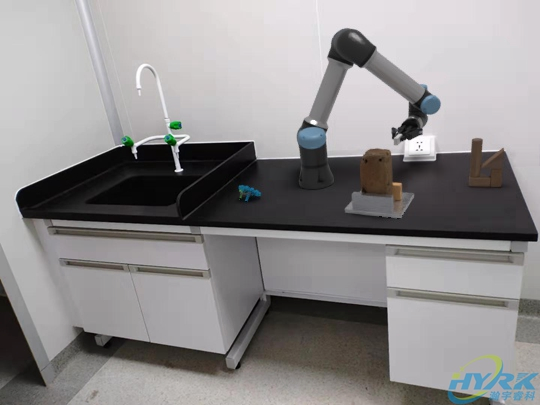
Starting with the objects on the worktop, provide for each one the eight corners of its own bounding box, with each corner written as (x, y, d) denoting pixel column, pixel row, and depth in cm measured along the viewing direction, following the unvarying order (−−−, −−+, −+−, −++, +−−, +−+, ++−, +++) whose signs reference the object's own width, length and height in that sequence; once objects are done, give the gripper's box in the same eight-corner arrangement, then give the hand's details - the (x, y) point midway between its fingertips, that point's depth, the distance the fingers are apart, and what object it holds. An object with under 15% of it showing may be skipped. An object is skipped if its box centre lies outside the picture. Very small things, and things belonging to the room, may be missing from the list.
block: (394, 200, 151) (393, 147, 143) (389, 209, 145) (387, 154, 137) (365, 198, 156) (362, 147, 149) (359, 206, 151) (356, 153, 143)
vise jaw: (362, 197, 157) (362, 182, 155) (364, 194, 159) (364, 180, 157) (400, 200, 150) (400, 185, 148) (402, 197, 152) (401, 183, 150)
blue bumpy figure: (266, 194, 174) (250, 184, 167) (261, 207, 172) (245, 197, 166) (249, 192, 182) (233, 183, 175) (245, 205, 180) (228, 195, 174)
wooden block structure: (501, 187, 152) (505, 140, 145) (468, 186, 157) (471, 140, 150) (500, 183, 155) (504, 137, 148) (468, 183, 160) (471, 137, 153)
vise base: (344, 212, 151) (343, 193, 148) (362, 192, 165) (361, 174, 162) (400, 218, 141) (400, 198, 138) (414, 196, 155) (414, 178, 152)
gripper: (427, 135, 175) (412, 152, 157) (395, 134, 181) (378, 150, 163) (427, 118, 172) (413, 132, 154) (396, 117, 178) (378, 131, 160)
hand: (395, 141), depth 159 cm, fingers closed
